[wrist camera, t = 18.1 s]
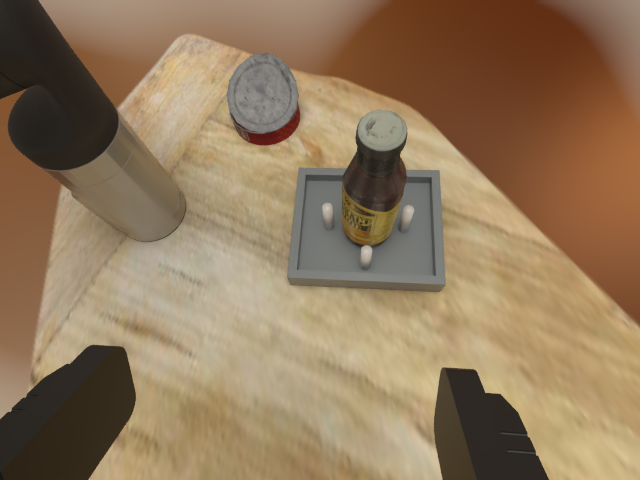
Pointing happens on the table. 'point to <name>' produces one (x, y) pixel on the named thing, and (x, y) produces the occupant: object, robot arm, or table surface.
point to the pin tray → (367, 262)
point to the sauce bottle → (374, 179)
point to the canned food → (263, 100)
